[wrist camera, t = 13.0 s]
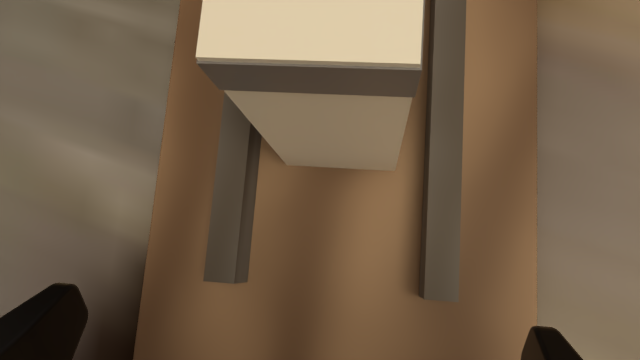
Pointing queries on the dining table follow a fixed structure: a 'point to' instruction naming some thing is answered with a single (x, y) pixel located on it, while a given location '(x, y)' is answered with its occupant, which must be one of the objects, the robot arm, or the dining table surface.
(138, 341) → the brown flat board
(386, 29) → the cream square-faced block
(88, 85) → the dining table surface
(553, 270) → the dining table surface
